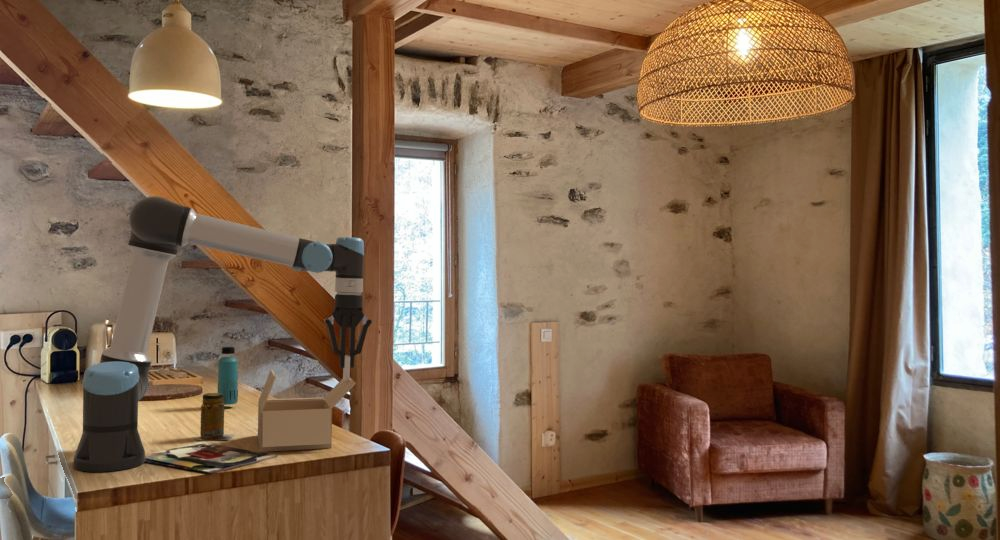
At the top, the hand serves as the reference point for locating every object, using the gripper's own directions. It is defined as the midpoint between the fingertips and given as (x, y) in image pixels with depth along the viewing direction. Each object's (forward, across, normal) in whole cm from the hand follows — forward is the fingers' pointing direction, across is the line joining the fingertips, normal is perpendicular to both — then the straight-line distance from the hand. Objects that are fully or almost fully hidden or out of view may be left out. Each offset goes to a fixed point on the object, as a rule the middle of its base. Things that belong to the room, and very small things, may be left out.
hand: (346, 379), depth 214 cm
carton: (+17, -14, 0) cm, 22 cm away
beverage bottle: (+17, -30, +56) cm, 66 cm away
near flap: (+6, -14, -8) cm, 17 cm away
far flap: (+6, -14, +8) cm, 17 cm away
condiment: (+17, -34, +11) cm, 39 cm away
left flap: (+7, -22, 0) cm, 23 cm away
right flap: (+6, -5, 0) cm, 8 cm away
